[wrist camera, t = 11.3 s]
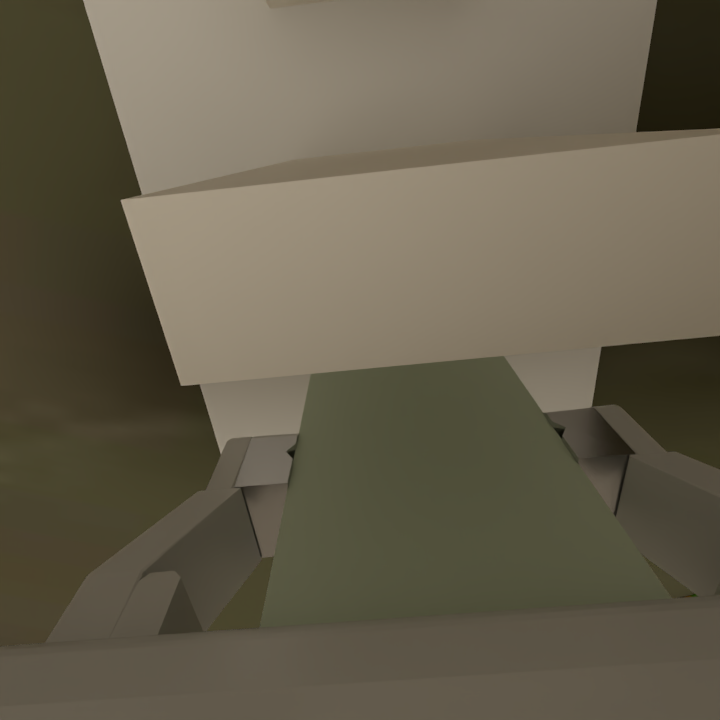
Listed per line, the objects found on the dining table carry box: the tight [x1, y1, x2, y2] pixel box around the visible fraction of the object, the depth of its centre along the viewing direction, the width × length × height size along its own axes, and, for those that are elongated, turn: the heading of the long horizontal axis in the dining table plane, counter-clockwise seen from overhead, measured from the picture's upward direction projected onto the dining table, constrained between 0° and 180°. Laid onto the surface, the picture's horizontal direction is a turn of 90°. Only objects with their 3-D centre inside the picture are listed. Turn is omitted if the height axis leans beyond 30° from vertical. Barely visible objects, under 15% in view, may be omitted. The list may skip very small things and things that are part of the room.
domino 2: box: [260, 356, 671, 628], centre depth 10 cm, size 2×5×10 cm, turn 95°
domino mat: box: [83, 0, 657, 454], centre depth 11 cm, size 29×14×1 cm, turn 6°
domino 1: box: [121, 128, 720, 386], centre depth 8 cm, size 2×5×10 cm, turn 96°
